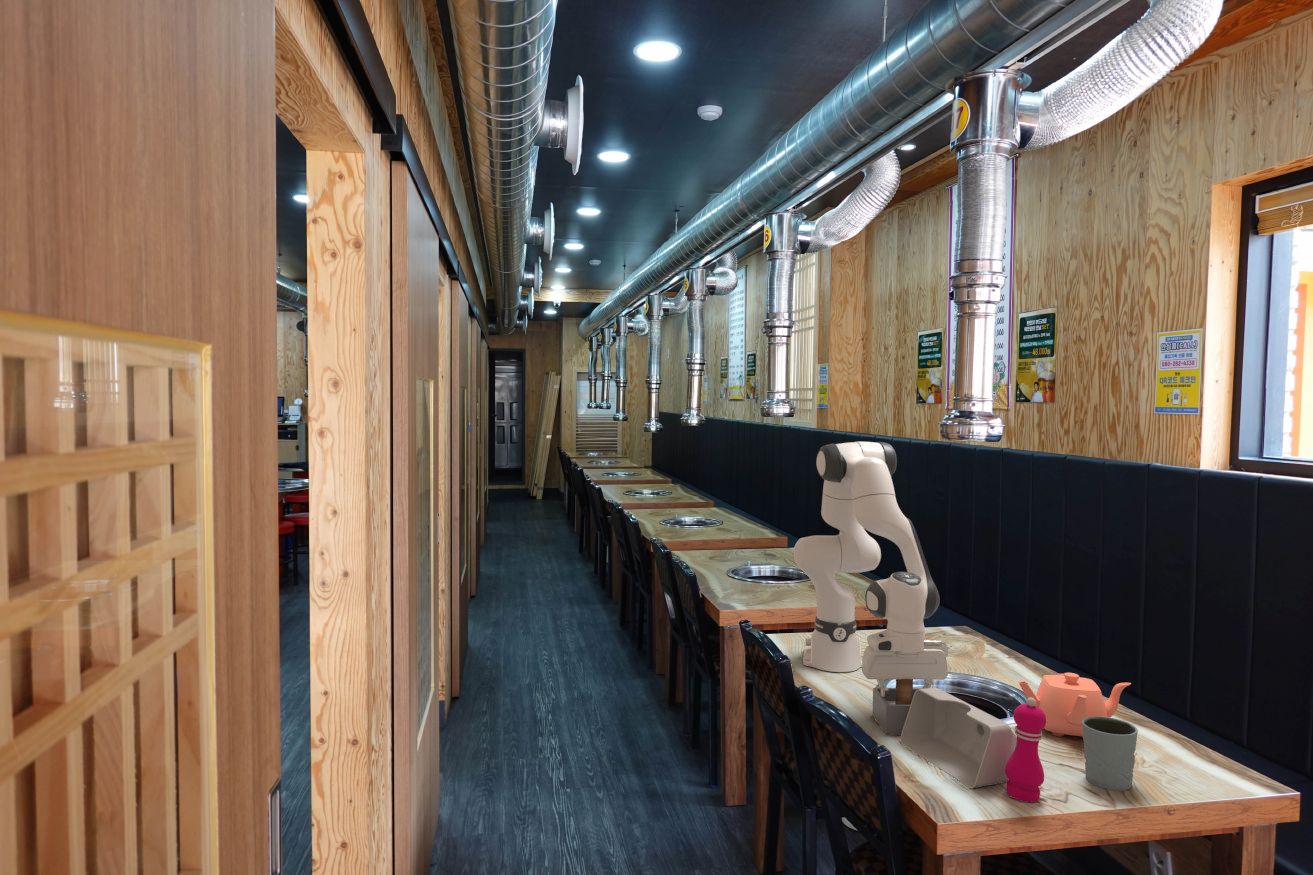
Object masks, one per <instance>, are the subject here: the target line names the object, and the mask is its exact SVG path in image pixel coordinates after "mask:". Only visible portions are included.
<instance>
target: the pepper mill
mask: <svg viewBox="0 0 1313 875" xmlns="http://www.w3.org/2000/svg"><path fill="white" fill-rule="evenodd" d="M1035 705H1036V700H1035V699H1034V698H1031V697H1030V698H1028V699H1027V698H1026V703H1022V704H1019V705H1018V706H1017V707H1016V708H1015V709H1014V711H1013V721H1014V723H1015V726H1014V729H1015V730H1014V734H1015V735H1016V737H1017V743H1016V747H1015V750H1014V752H1013V753H1012V755H1011V756H1010V758H1009V759H1008V761H1007V764H1006V767H1005V774H1006V776H1007V778H1008V779H1009V780H1008V781H1007V782H1005V792H1006V793H1007V795H1008V796H1009V797H1011V798H1013V799H1015V800H1017V801H1020V802H1024V803H1037V802H1039V801H1040V796H1041V789H1040V786H1042V785H1043V783H1044V782H1045V771H1044V768H1043V765H1042V761H1041V759H1040V756H1039V743H1040V741H1041V740H1042V739H1043V737H1042V735H1043V731H1042V730H1043V729H1044V727H1045V725H1046V716H1045V713H1044V712H1043V710H1042V709H1040V708H1039V707H1037V706H1035Z"/></svg>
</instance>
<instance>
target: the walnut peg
mask: <svg viewBox="0 0 1313 875" xmlns="http://www.w3.org/2000/svg"><path fill="white" fill-rule="evenodd" d="M895 688H896V700H895V704H898V705H911V702H912V699H913V688H914V680H912V679H895Z"/></svg>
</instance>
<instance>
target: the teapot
mask: <svg viewBox="0 0 1313 875" xmlns="http://www.w3.org/2000/svg"><path fill="white" fill-rule="evenodd" d="M1039 683H1040V684H1039V686H1038V688H1037V692H1036V693H1035V691H1034V690H1033V689H1032V688H1031V686H1030V684H1028V682H1027V680H1020V681H1018V684H1019V685H1018V686H1020V688H1021V690H1022V692H1023V694H1024V695H1025V698H1026V700H1027V699H1028V698H1030V697H1031V698H1034V699H1035V700H1036V705H1035V706H1037V707H1039V708H1040V709H1042V710H1043V712H1044V713H1045V716H1046V725H1045V727H1044V728H1043V729H1044V730H1045V731H1048V732H1051V735H1052V736H1055V737H1059V738H1060V737H1064V735H1067V736H1068V735H1069V736H1074V737H1075V736H1077V737H1081V738H1082V739H1083V729H1082V720H1083V719H1084V718H1087V717H1092V716H1103V717H1110V718H1113V716H1114V715H1115V714H1116V712H1117V710H1118V707H1119V702H1120V698H1121V697H1120V696H1121V694H1122V692H1123V690H1124V689H1125V688H1127V687H1128V686H1130V685H1131V684H1132V683H1131V682H1119V683H1116V684H1115V685H1114V686H1113V688H1112V690H1111V693H1110V696H1109V698H1108V699H1107V700H1106V701H1105V700H1104V695H1103V693H1102V691H1101V689H1100V687H1099V686H1098V684H1097V683H1096V682H1095V681H1094V680H1093V679H1091V678H1088V677H1087V678H1086V677H1080V675H1079V674H1077V673H1073V672H1064V673H1057V674H1044V675H1043V676H1042V679H1041V681H1040V682H1039Z"/></svg>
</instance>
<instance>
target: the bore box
mask: <svg viewBox="0 0 1313 875" xmlns="http://www.w3.org/2000/svg"><path fill="white" fill-rule="evenodd" d="M886 688H887V689H888V690H889V693H888V694H889V697H882V696H881V688H880V687H872V711H871V712H872V717H873V718H874V720H875V721H876V722H877V724H878V726H879V727H880V729H881V730H882V731H883V733H884V734H885V736H887V735H888V736H890V735H891V736H894V735H897V736H901V733H902V730H903V727H904V724H905V721H906V718H907V715H908V712H909V708H910V705H898V704H895V700H896V687H886ZM919 688H920V687H918V688H917V687H913V696H914V693H915V692H916V690H918V689H919Z"/></svg>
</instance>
